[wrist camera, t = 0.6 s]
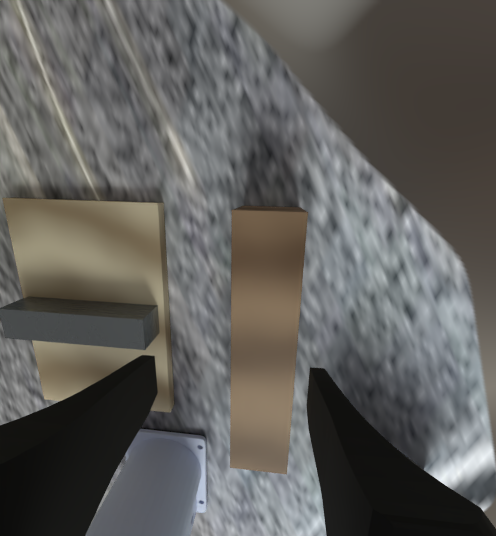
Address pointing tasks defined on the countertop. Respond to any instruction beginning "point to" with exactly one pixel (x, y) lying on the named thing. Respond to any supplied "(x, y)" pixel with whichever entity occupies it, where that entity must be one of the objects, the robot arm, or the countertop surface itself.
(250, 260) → the walnut bar
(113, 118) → the countertop surface
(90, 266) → the balance stand
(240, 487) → the countertop surface
